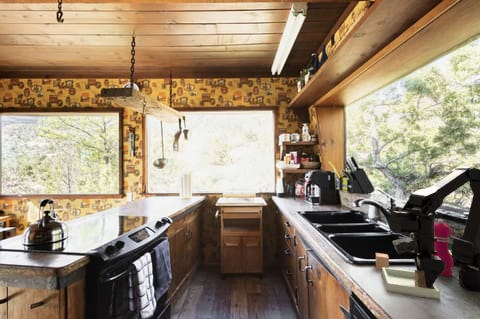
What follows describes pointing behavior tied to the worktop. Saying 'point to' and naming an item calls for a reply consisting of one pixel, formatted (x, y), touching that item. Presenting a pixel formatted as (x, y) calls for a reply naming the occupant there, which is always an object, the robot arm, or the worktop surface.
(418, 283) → the walnut block
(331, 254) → the worktop surface
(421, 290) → the tray
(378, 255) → the peach block
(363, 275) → the worktop surface
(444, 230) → the pepper mill
